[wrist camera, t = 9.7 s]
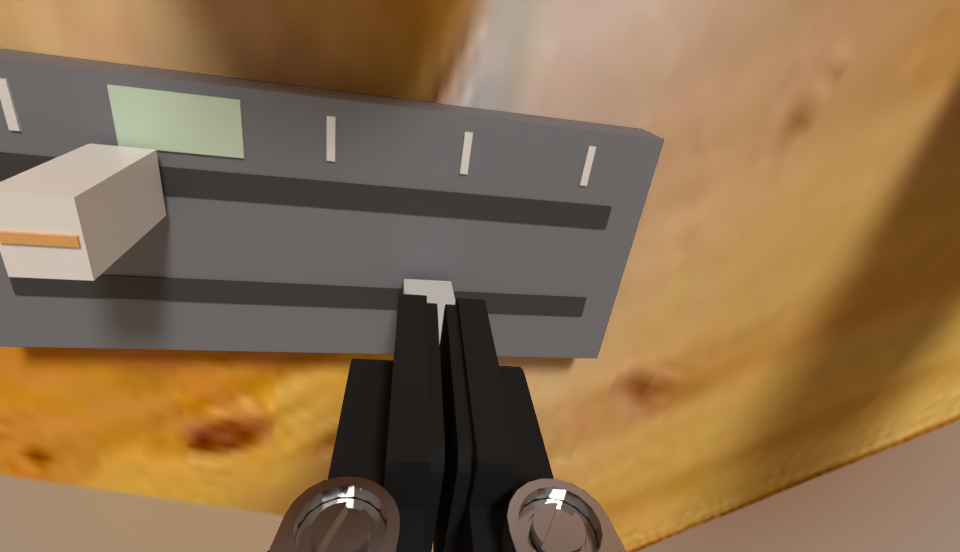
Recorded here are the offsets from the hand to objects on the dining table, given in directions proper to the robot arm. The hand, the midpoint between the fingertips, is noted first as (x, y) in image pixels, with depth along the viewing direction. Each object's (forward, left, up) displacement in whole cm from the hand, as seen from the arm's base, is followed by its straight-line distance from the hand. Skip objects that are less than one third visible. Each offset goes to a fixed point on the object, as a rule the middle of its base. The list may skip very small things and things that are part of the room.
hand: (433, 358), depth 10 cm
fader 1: (+10, 0, -10) cm, 14 cm away
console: (+3, +2, -13) cm, 13 cm away
